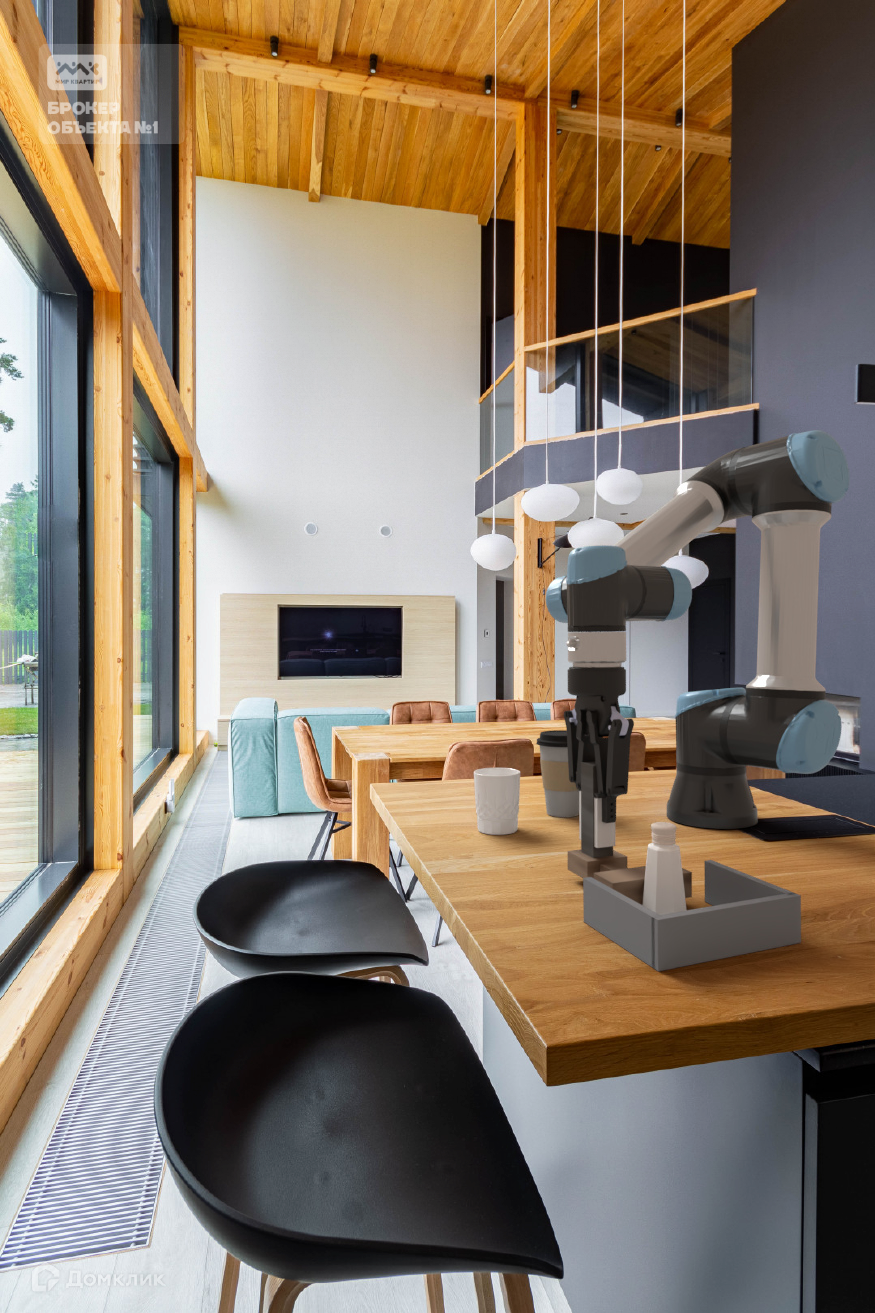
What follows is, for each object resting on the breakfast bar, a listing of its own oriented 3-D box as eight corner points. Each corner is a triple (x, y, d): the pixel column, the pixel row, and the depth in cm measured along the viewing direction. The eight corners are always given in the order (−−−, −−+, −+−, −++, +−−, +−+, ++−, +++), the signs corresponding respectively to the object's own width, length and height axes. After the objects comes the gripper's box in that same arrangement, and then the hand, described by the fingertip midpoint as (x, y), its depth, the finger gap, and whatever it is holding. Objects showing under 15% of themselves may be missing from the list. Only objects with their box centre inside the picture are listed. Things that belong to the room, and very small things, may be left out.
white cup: (471, 825, 127) (470, 768, 127) (516, 823, 128) (515, 767, 128) (477, 837, 119) (477, 776, 119) (525, 835, 120) (524, 775, 120)
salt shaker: (679, 933, 79) (678, 832, 79) (631, 922, 83) (631, 825, 82) (696, 918, 84) (695, 822, 83) (650, 908, 87) (650, 816, 87)
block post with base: (621, 862, 100) (621, 757, 100) (691, 897, 87) (691, 776, 87) (551, 871, 97) (550, 763, 96) (612, 909, 83) (612, 783, 83)
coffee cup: (588, 820, 129) (587, 736, 129) (535, 818, 131) (534, 735, 131) (588, 808, 139) (587, 730, 138) (538, 807, 140) (537, 729, 140)
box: (711, 900, 89) (711, 859, 89) (800, 942, 76) (800, 895, 76) (583, 921, 83) (583, 878, 83) (658, 971, 70) (657, 920, 70)
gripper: (542, 663, 102) (543, 830, 102) (605, 667, 87) (606, 863, 87) (588, 662, 104) (589, 825, 105) (658, 666, 89) (658, 856, 90)
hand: (597, 842), depth 96 cm, fingers closed on block post with base, 3 cm apart
